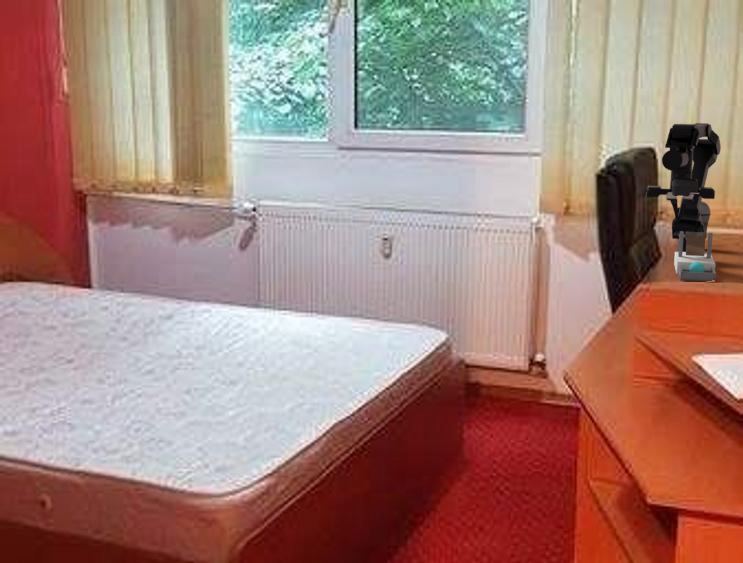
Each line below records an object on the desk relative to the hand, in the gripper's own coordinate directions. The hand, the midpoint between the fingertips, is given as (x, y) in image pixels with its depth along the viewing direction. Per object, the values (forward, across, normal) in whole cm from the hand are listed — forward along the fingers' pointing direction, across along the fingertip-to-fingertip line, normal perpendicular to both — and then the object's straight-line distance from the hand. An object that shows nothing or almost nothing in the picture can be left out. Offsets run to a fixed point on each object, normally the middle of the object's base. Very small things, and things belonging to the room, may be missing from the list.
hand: (677, 221), depth 271 cm
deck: (+13, +5, -4) cm, 14 cm away
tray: (+13, +5, -18) cm, 23 cm away
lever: (+9, +5, -4) cm, 11 cm away
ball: (+10, +5, -17) cm, 21 cm away
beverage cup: (+13, +8, +32) cm, 36 cm away
